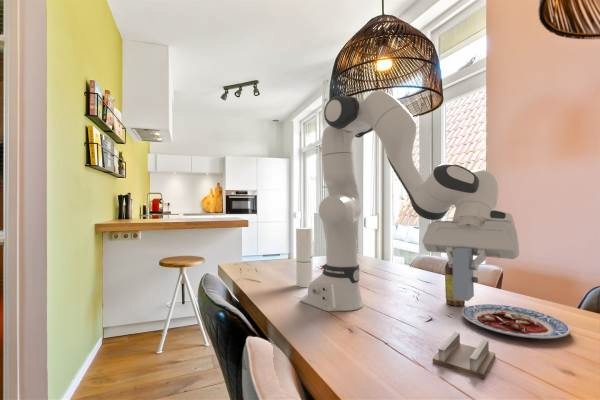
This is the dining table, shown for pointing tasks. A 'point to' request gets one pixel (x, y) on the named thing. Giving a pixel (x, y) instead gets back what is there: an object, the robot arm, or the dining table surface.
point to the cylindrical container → (304, 256)
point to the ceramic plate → (516, 321)
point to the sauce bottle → (451, 287)
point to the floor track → (465, 356)
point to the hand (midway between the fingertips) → (462, 267)
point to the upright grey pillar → (463, 274)
